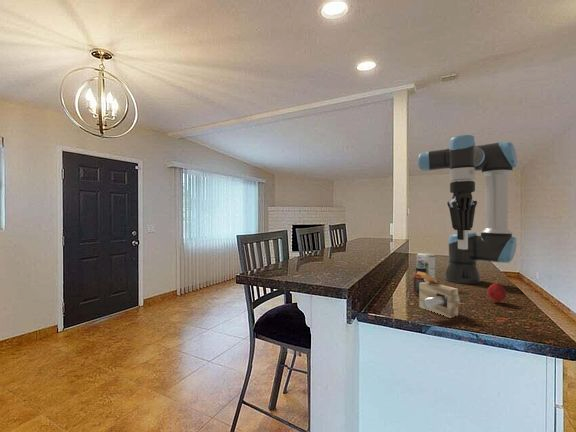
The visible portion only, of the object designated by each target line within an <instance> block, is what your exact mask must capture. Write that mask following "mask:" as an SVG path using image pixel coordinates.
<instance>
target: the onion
mask: <svg viewBox="0 0 576 432" xmlns="http://www.w3.org/2000/svg"><path fill="white" fill-rule="evenodd" d="M486 291H487V292H486V294H487V295H486V296H488V298H489V299H490V300H491V301H493V303H496V304H499V303H500V302H502V301H503V300H505V299H506V296H507V292H506V291H507V290H506V289H505V288H504V286H502V285H501V284H500V283H499V282H498V281H494V282H493V283H492V284H491V285H489V287H488V288H487V290H486Z"/></svg>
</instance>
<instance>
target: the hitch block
mask: <svg viewBox="0 0 576 432" xmlns="http://www.w3.org/2000/svg"><path fill="white" fill-rule="evenodd" d="M441 295H446V296H447V304H445V305H441V306H436V307H432V308H428V309H427V308H425V307H424V306H423V304H422V301H423V300H424V299H427V298H432V297H437V296H441ZM458 295H459V288H455V287H451V286H448V285H443V284H440V283H439V284H436V283H432V282H427V281H426V282H421V283H419V296H418V298H419V299H418V300H419V302H418V303H419V305H418V306H419V307H420V309H422V310H425V309H426V311H428V310H429V312H431V311H432V313H434V312H435V313H434V314H437V313H438V314H437V315H440V314H441V316H443V315H444V316H443V317H446V318H449V319H451V318H455V316H456V317H458V316H459V304H458Z"/></svg>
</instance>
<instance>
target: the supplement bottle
mask: <svg viewBox="0 0 576 432" xmlns="http://www.w3.org/2000/svg"><path fill="white" fill-rule="evenodd" d="M417 271H419V272H424V273H427V272H426V267H417V266H415V271H414V272H413V273H412V276H413V278H412V280H413V281H412V282H413V283H412V284H413V285H412V287H413V288H412V289H413V291H412V292H413V295H415V296H418V297H419V283H421V282H426V281H427V282H429V281H428V280H426V279H424V278H423V277H421V276H420V275H418V274H417ZM427 274H428V273H427ZM428 275H429V274H428Z"/></svg>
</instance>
